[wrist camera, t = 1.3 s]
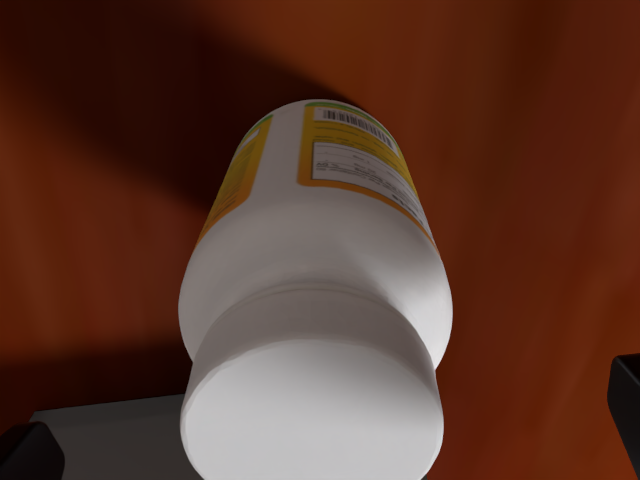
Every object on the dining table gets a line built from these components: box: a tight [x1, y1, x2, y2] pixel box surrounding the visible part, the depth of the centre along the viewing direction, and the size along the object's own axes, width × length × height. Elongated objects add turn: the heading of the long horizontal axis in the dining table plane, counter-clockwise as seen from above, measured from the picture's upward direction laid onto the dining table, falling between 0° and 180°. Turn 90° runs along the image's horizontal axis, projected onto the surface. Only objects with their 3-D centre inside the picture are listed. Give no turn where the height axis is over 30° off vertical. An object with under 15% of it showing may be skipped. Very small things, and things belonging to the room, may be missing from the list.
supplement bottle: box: [178, 99, 452, 480], centre depth 12 cm, size 5×5×10 cm
